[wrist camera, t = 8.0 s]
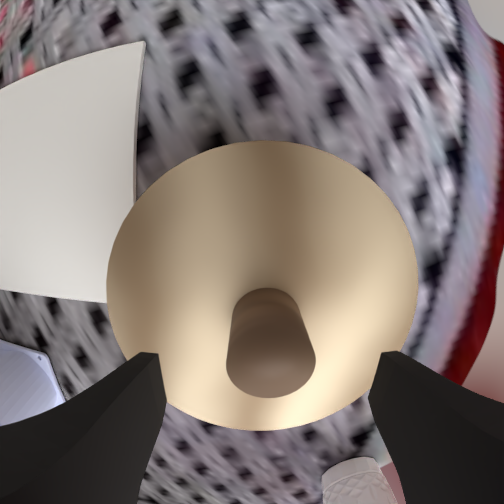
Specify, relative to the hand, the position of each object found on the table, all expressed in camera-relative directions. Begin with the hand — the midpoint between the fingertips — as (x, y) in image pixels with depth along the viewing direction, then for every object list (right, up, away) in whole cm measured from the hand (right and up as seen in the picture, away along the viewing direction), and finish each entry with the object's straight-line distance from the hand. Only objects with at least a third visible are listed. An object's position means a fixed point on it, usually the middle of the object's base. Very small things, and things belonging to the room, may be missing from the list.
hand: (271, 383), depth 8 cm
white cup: (+11, -21, +16) cm, 28 cm away
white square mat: (-17, +10, +8) cm, 21 cm away
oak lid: (0, +1, +5) cm, 5 cm away
